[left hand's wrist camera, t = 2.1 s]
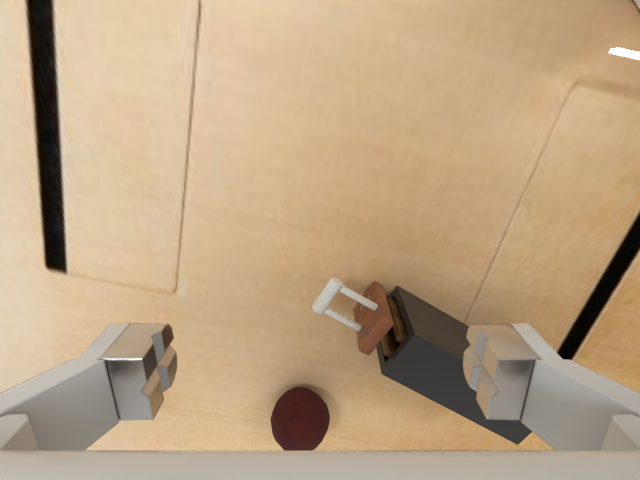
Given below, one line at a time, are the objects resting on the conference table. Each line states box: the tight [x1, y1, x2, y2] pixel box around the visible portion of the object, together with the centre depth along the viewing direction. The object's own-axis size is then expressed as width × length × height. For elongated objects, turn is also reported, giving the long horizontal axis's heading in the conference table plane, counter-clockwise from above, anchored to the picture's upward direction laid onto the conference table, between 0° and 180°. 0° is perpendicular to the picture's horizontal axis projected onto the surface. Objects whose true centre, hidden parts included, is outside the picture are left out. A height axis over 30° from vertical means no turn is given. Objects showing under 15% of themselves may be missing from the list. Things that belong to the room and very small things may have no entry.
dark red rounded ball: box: [271, 388, 330, 451], centre depth 48 cm, size 7×8×7 cm
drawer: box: [311, 277, 408, 358], centre depth 42 cm, size 22×4×8 cm, turn 59°
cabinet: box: [376, 286, 532, 445], centre depth 43 cm, size 18×6×10 cm, turn 59°
